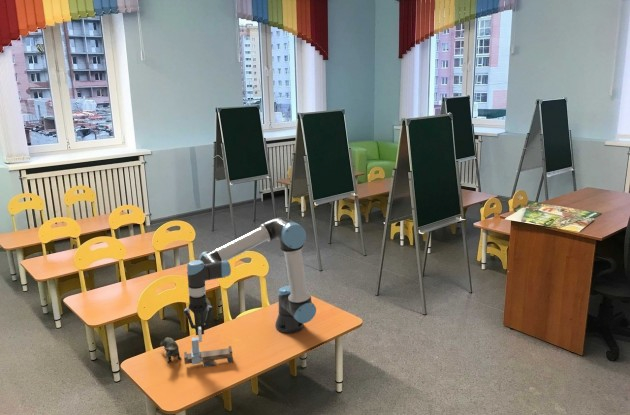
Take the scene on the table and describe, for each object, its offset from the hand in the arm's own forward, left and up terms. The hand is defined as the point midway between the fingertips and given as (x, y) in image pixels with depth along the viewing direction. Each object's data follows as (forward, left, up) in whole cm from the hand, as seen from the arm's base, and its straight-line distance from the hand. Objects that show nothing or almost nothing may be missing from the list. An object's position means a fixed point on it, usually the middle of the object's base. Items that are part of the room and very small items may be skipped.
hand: (200, 340), depth 233 cm
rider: (+2, 0, -9) cm, 10 cm away
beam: (-3, 0, -13) cm, 13 cm away
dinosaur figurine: (+14, -10, -13) cm, 21 cm away
